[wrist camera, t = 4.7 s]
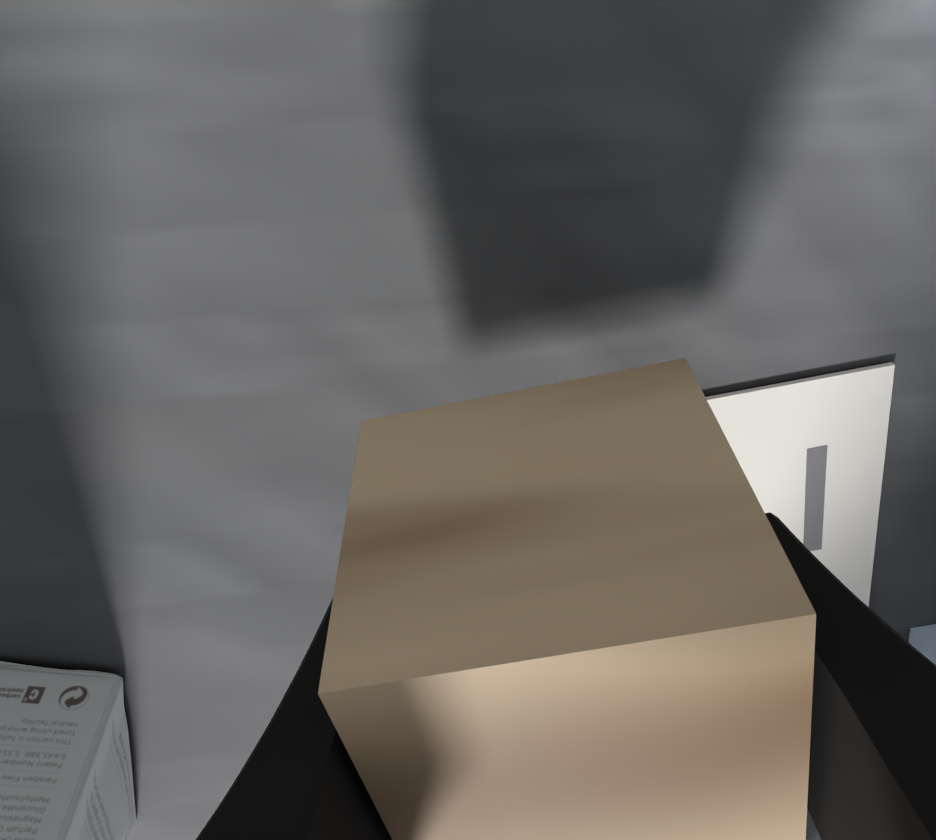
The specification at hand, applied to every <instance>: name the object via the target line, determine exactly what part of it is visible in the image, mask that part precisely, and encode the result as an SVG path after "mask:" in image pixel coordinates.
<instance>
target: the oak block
mask: <svg viewBox="0 0 936 840" xmlns="http://www.w3.org/2000/svg"><path fill="white" fill-rule="evenodd" d="M815 632H816V612H815V610H814V608H813V607H812V605H811V603H810V601H809V599H808V597H807V595H806V593H805V591H804V589H803V587H802V585H801V583H800V581H799V579H798V577H797V575H796V573H795V571H794V569H793V567H792V565H791V564H790V562H789V560H788V558H787V556H786V554H785V552H784V550H783V548H782V546H781V544H780V542H779V540H778V538H777V536H776V534H775V532H774V530H773V528H772V526H771V524H770V522H769V521H768V519H767V517H766V515H765V513H764V511H763V509H762V507H761V505H760V503H759V501H758V499H757V497H756V495H755V493H754V491H753V489H752V487H751V485H750V483H749V481H748V480H747V478H746V476H745V474H744V472H743V470H742V468H741V466H740V464H739V462H738V460H737V458H736V456H735V454H734V452H733V450H732V448H731V446H730V444H729V442H728V440H727V438H726V437H725V435H724V433H723V431H722V429H721V427H720V425H719V423H718V421H717V419H716V417H715V415H714V413H713V411H712V409H711V407H710V405H709V403H708V401H707V399H706V397H705V395H704V394H703V392H702V390H701V388H700V386H699V384H698V382H697V380H696V378H695V376H694V374H693V372H692V370H691V368H690V366H689V364H688V362H687V360H686V358H683V359H678V360H673V361H668V362H663V363H658V364H653V365H647V366H642V367H637V368H632V369H627V370H622V371H617V372H611V373H606V374H601V375H596V376H591V377H586V378H581V379H575V380H570V381H565V382H560V383H555V384H550V385H545V386H539V387H534V388H529V389H524V390H519V391H514V392H508V393H503V394H498V395H493V396H488V397H483V398H478V399H472V400H467V401H462V402H457V403H452V404H447V405H442V406H436V407H431V408H426V409H421V410H416V411H411V412H406V413H400V414H395V415H390V416H385V417H380V418H375V419H370V420H364V421H361V427H360V433H359V440H358V446H357V452H356V458H355V465H354V471H353V477H352V483H351V490H350V496H349V502H348V508H347V515H346V521H345V527H344V533H343V540H342V546H341V552H340V558H339V565H338V571H337V577H336V583H335V590H334V596H333V602H332V608H331V615H330V621H329V627H328V633H327V640H326V646H325V652H324V658H323V665H322V671H321V677H320V683H319V690H318V695H319V697H320V699H321V701H322V703H323V705H324V707H325V709H326V711H327V713H328V715H329V717H330V718H331V720H332V722H333V724H334V726H335V728H336V730H337V732H338V734H339V736H340V738H341V740H342V742H343V744H344V746H345V748H346V750H347V752H348V754H349V756H350V758H351V760H352V762H353V764H354V766H355V768H356V769H357V771H358V773H359V775H360V777H361V779H362V781H363V783H364V785H365V787H366V789H367V791H368V793H369V795H370V797H371V799H372V801H373V803H374V805H375V807H376V809H377V811H378V813H379V815H380V817H381V819H382V821H383V822H384V824H385V826H386V828H387V830H388V832H389V834H390V836H391V838H392V840H806V822H807V801H808V780H809V759H810V738H811V717H812V695H813V674H814V653H815Z"/></svg>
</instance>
